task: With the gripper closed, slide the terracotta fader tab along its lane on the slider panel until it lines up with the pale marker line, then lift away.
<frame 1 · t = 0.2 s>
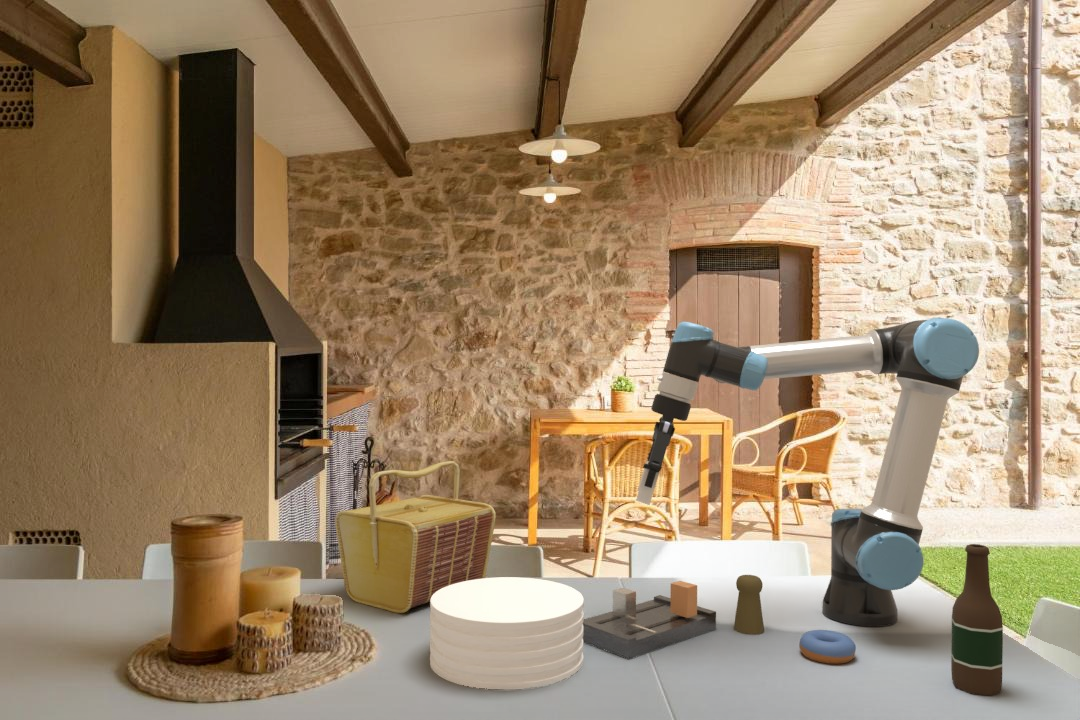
hand: (643, 497, 167), 27 cm above the table, tool tilted 15°, fingers open, 13 cm apart
cork: (748, 630, 167), on the table
fader: (683, 599, 166), point 6 cm above the table, slide at 0.0 cm
plate stack: (506, 661, 150), on the table
doughnut: (827, 657, 153), on the table
slider panel: (645, 633, 165), on the table
picnic basket: (416, 595, 190), on the table
beer bottle: (976, 688, 139), on the table
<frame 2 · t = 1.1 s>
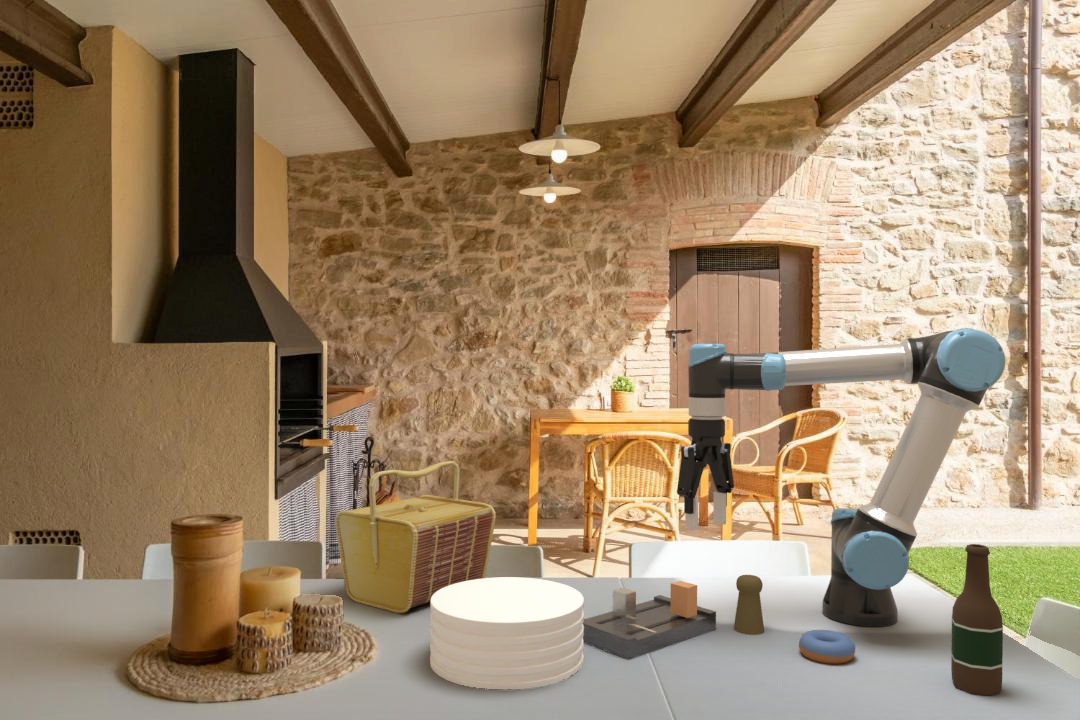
hand: (705, 526, 171), 20 cm above the table, tool pointing down, fingers open, 9 cm apart
nothing on the table moved.
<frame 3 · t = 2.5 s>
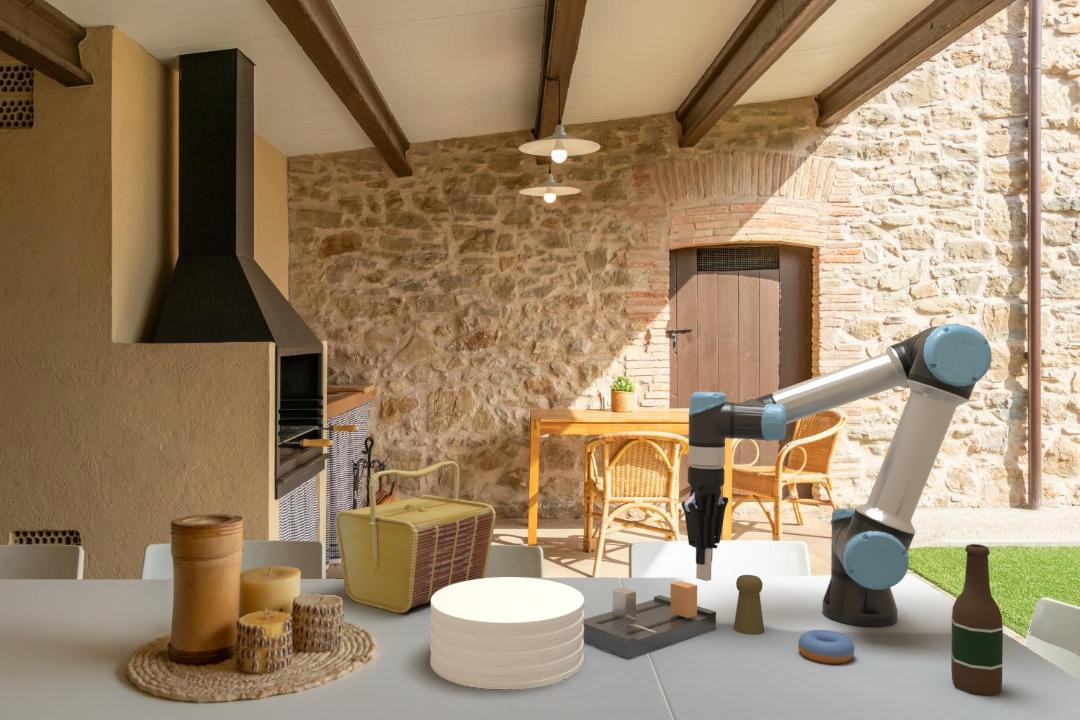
hand: (703, 579, 171), 9 cm above the table, tool pointing down, fingers closed
nothing on the table moved.
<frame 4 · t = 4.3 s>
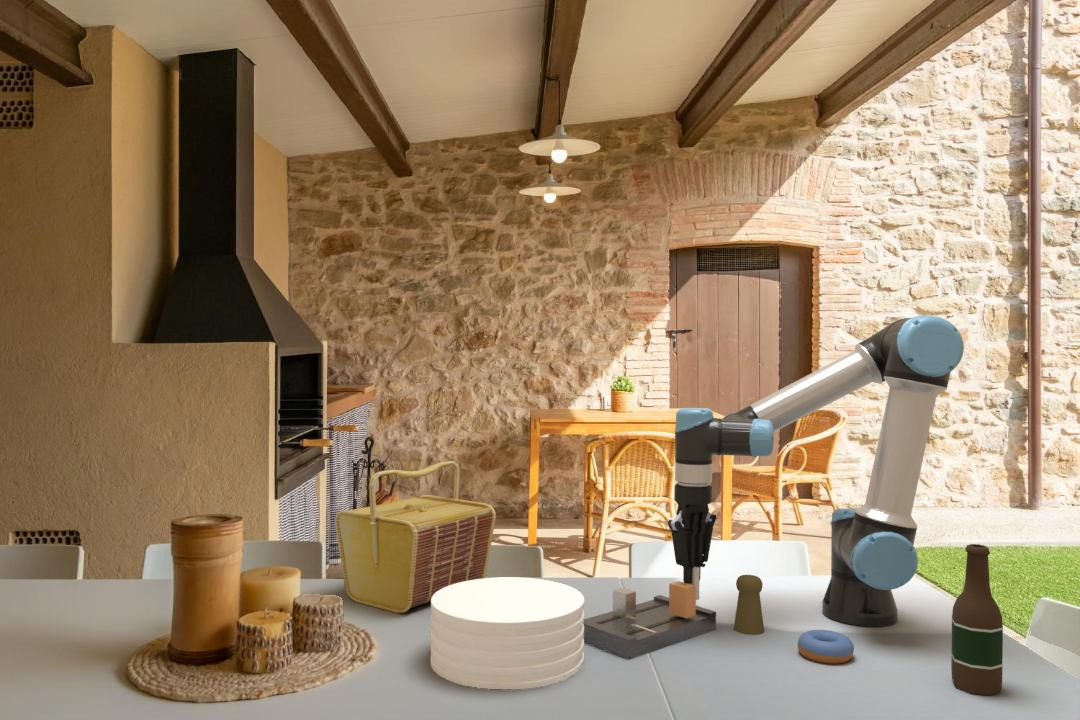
hand: (691, 598, 168), 6 cm above the table, tool pointing down, fingers closed
fader: (682, 599, 166), point 7 cm above the table, slide at 0.4 cm, touching gripper
everything else where it was.
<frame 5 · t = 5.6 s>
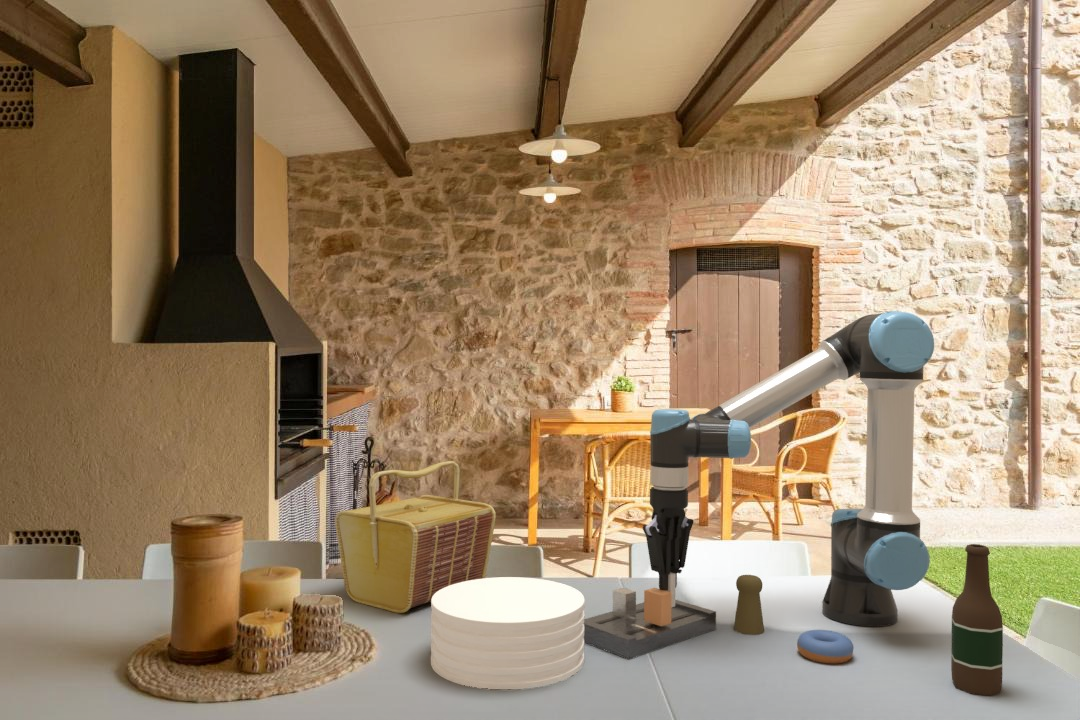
hand: (667, 605, 163), 6 cm above the table, tool pointing down, fingers closed
fader: (657, 606, 161), point 6 cm above the table, slide at 8.0 cm, touching gripper
everything else where it was.
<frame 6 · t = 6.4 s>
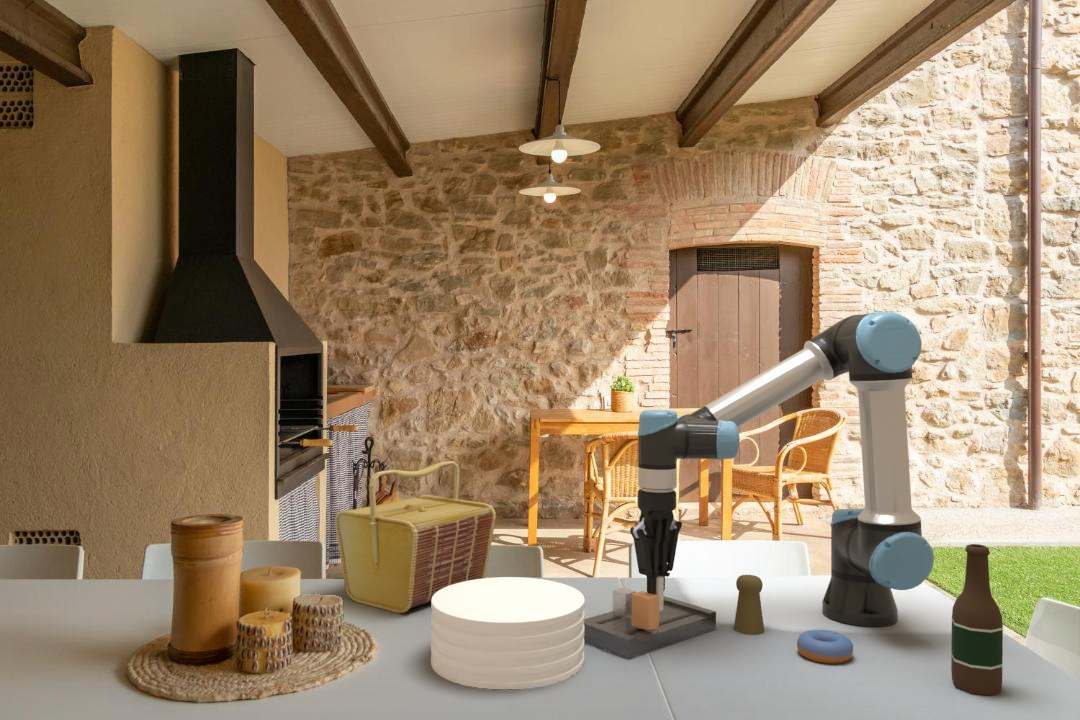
hand: (655, 609, 161), 6 cm above the table, tool pointing down, fingers closed
fader: (645, 610, 159), point 7 cm above the table, slide at 11.6 cm, touching gripper
everything else where it was.
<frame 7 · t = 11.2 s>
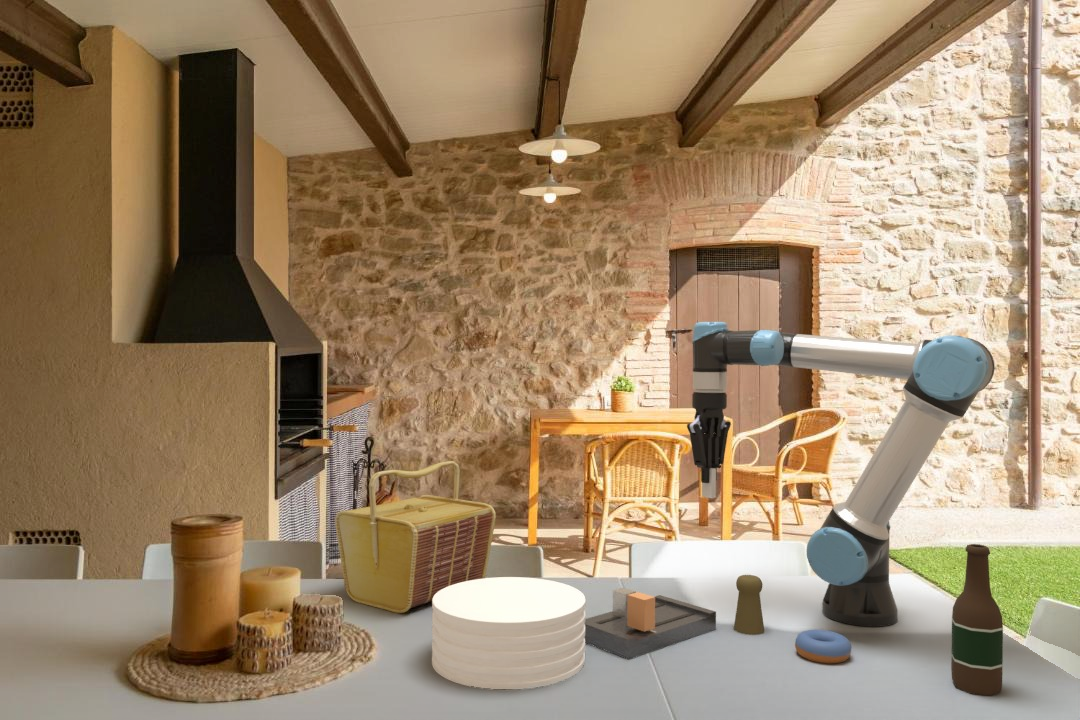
hand: (708, 497, 182), 24 cm above the table, tool pointing down, fingers closed
fader: (641, 611, 158), point 7 cm above the table, slide at 12.8 cm
everything else where it was.
at the end: fader slide at 12.8 cm; fader touching nothing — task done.
